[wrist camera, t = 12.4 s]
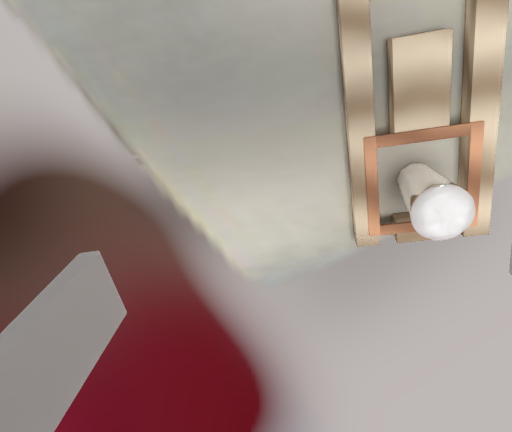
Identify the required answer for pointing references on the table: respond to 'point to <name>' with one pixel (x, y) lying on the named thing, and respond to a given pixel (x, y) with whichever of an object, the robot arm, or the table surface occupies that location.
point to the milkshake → (435, 203)
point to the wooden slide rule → (422, 108)
